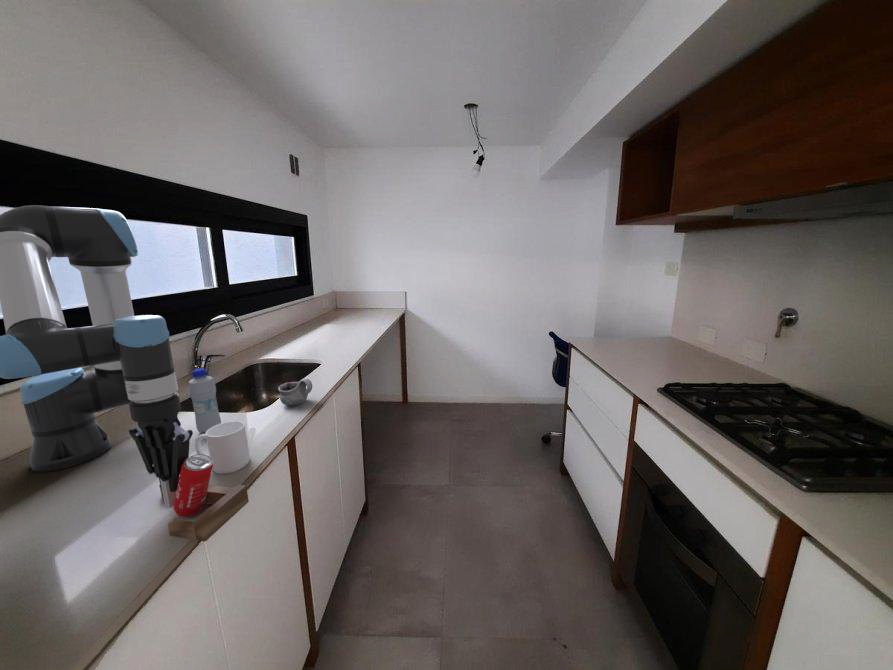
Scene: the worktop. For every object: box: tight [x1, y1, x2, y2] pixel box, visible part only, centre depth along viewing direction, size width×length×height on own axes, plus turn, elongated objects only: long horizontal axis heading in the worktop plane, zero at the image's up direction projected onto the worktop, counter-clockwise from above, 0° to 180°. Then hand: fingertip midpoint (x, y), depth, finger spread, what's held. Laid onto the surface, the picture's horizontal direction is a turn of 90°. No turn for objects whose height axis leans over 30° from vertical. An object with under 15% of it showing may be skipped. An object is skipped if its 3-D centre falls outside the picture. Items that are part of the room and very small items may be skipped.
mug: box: [277, 377, 313, 407], centre depth 126 cm, size 10×12×10 cm
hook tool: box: [158, 484, 249, 542], centre depth 72 cm, size 20×11×4 cm, turn 79°
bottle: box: [188, 368, 222, 435], centre depth 106 cm, size 7×7×20 cm
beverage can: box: [173, 453, 213, 518], centre depth 72 cm, size 5×5×12 cm
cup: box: [194, 420, 251, 475], centre depth 89 cm, size 8×12×10 cm
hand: (174, 503), depth 73 cm, fingers closed
